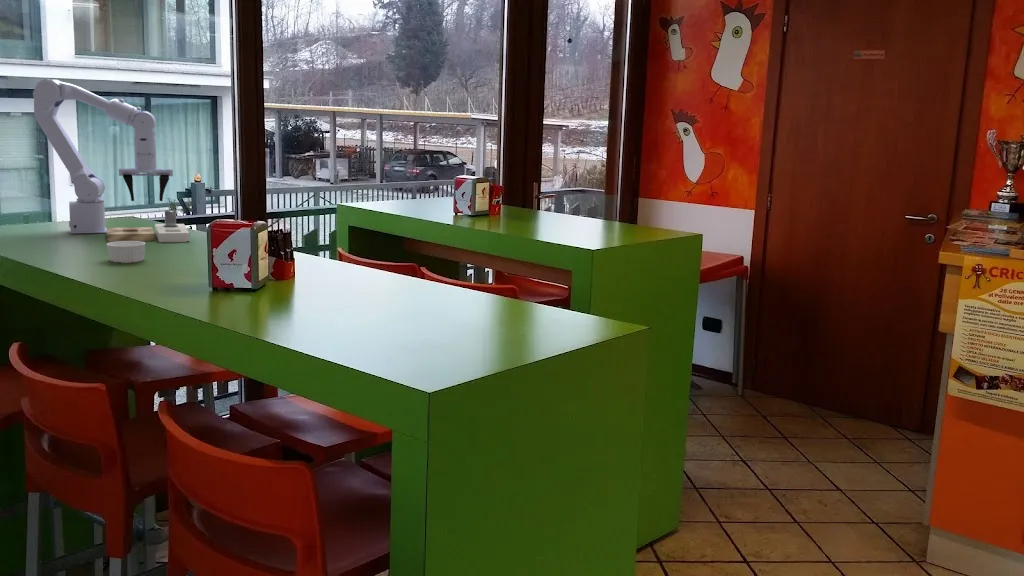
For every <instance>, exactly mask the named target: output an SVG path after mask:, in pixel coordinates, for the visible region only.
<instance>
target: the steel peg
mask: <svg viewBox="0 0 1024 576" xmlns="http://www.w3.org/2000/svg"><path fill="white" fill-rule="evenodd" d="M176 212H177V210H173V209H171V210H169V209H168V210H164V224H165V227H176V224H177V213H176Z"/></svg>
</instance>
